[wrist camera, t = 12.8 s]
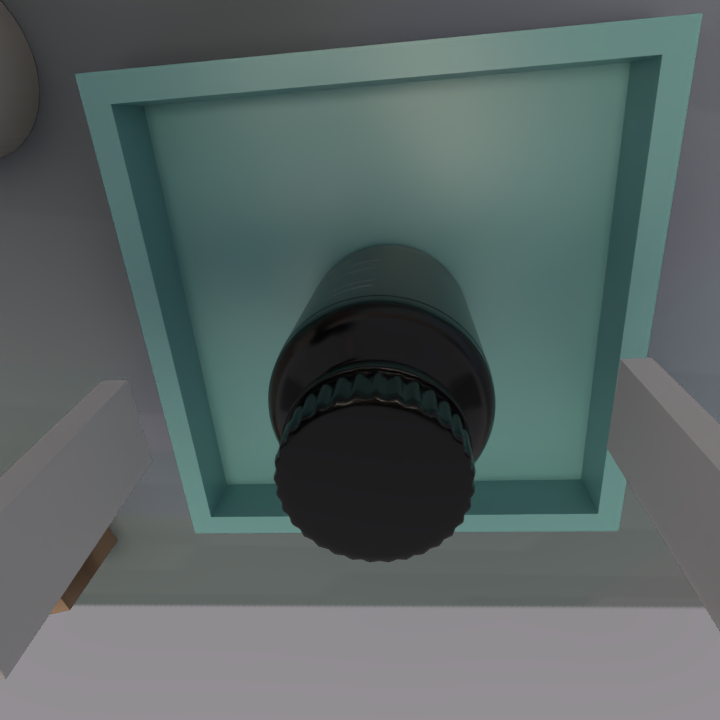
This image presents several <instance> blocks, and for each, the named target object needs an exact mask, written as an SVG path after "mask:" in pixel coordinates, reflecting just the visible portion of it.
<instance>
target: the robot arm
mask: <svg viewBox="0 0 720 720" xmlns="http://www.w3.org/2000/svg"><path fill="white" fill-rule="evenodd" d="M607 449H608V451H609V453H610V454H611V456H612V458H613V459H614V461H615V462H616V464H617V466H618V467H619V469H620V470H621V472H622V474H623V475H624V477H625V479H626V480H627V482H628V483H629V485H630V487H631V488H632V490H633V492H634V493H635V495H636V496H637V498H638V500H639V501H640V503H641V504H642V506H643V508H644V509H645V511H646V513H647V514H648V516H649V517H650V519H651V521H652V522H653V524H654V526H655V527H656V529H657V530H658V532H659V534H660V535H661V537H662V538H663V540H664V542H665V543H666V545H667V547H668V548H669V550H670V551H671V553H672V555H673V556H674V558H675V560H676V561H677V563H678V564H679V566H680V568H681V569H682V571H683V572H684V574H685V576H686V577H687V579H688V581H689V582H690V584H691V585H692V587H693V589H694V590H695V592H696V594H697V595H698V597H699V598H700V600H701V602H702V603H703V605H704V606H705V608H706V610H707V611H708V613H709V615H710V616H711V618H712V619H713V621H714V622H715V624H716V626H717V627H718V629H719V631H720V425H719V424H718V423H717V422H716V421H715V420H714V419H713V418H712V417H711V416H710V415H709V414H708V413H707V412H706V411H705V410H704V409H703V408H702V407H701V406H700V405H699V404H698V403H697V402H696V401H695V400H694V399H693V398H692V397H691V396H690V395H689V394H688V393H687V392H686V391H685V390H684V389H683V388H682V387H681V386H680V385H679V384H678V383H677V382H676V381H675V380H674V379H673V378H672V377H671V376H670V375H669V374H668V373H667V372H666V371H665V370H664V369H663V368H662V367H661V366H660V365H659V364H658V363H657V362H656V361H655V360H654V359H653V358H631V359H620V365H619V371H618V378H617V384H616V391H615V397H614V404H613V410H612V417H611V423H610V429H609V436H608V442H607ZM151 463H152V458H151V454H150V451H149V448H148V444H147V441H146V438H145V435H144V431H143V428H142V425H141V421H140V418H139V415H138V412H137V408H136V405H135V402H134V399H133V395H132V392H131V389H130V385H129V382H128V380H113V381H101V382H100V383H99V384H98V385H97V386H96V387H95V388H94V389H92V390H91V391H90V392H89V393H88V394H87V395H86V396H85V397H84V398H83V399H82V400H81V401H80V402H79V403H78V404H77V405H76V406H75V407H74V408H73V409H71V410H70V411H69V412H68V413H67V414H66V415H65V416H64V417H63V418H62V419H61V420H60V421H59V422H58V423H57V424H56V425H55V426H54V427H53V428H52V429H50V430H49V431H48V432H47V433H46V434H45V435H44V436H43V437H42V438H41V439H40V440H39V441H38V442H37V443H36V444H35V445H34V446H33V447H32V448H31V449H29V450H28V451H27V452H26V453H25V454H24V455H23V456H22V457H21V458H20V459H19V460H18V461H17V462H16V463H15V464H14V465H13V466H12V467H11V468H10V469H8V470H7V471H6V472H5V473H4V474H3V475H2V476H1V477H0V679H6V678H7V677H8V675H9V674H10V672H11V671H12V669H13V668H14V666H15V665H16V663H17V662H18V660H19V659H20V658H21V656H22V654H23V653H24V651H25V650H26V648H27V647H28V646H29V644H30V643H31V641H32V640H33V638H34V636H35V635H36V634H37V632H38V631H39V629H40V628H41V626H42V625H43V623H44V622H45V620H46V619H47V617H48V616H49V614H50V613H51V611H52V610H53V608H54V607H55V605H56V604H57V602H58V601H59V599H60V598H61V597H62V595H63V594H64V592H65V591H66V589H67V588H68V586H69V585H70V583H71V582H72V580H73V579H74V577H75V576H76V574H77V573H78V571H79V570H80V568H81V567H82V565H83V564H84V562H85V561H86V559H87V558H88V556H89V555H90V553H91V552H92V550H93V549H94V547H95V546H96V544H97V543H98V541H99V540H100V539H101V537H102V536H103V534H104V533H105V531H106V530H107V528H108V527H109V525H110V524H111V522H112V521H113V519H114V518H115V516H116V515H117V513H118V512H119V510H120V509H121V507H122V506H123V504H124V503H125V501H126V500H127V498H128V497H129V495H130V494H131V492H132V491H133V489H134V488H135V486H136V485H137V483H138V482H139V480H140V479H141V478H142V476H143V475H144V473H145V472H146V470H147V469H148V467H149V466H150V464H151Z"/></svg>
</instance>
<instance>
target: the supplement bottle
mask: <svg viewBox="0 0 720 720" xmlns="http://www.w3.org/2000/svg"><path fill="white" fill-rule="evenodd" d="M268 408H269V416H270V421H271V425H272V428H273V431H274V434H275V437H276V439H277V441H278V443H279V449H278V451H277V454H276V456H275V467H276V470H275V473H274V481H275V483H276V485H277V491H276V495H277V497H278V498H279V499H280V500H281V502H282V510H283V511H284V512H285V513H286V514H287V515H288V516H289V517H290V521H291V523H292V525H294V526H295V527H297V528H299V529H300V530H301V532H302V534H303V535H304V536H305V537H307V538H309V539H311V540H313V541H314V542H315V543H316V544H317V545H318V546H319V547H323V548H326V549H329V550H330V551H331V552H332V553H334V554H337V555H344V556H346V557H348V558H350V559H352V560H358V559H362V560H365V561H368V562H375V561H383V562H391V561H394V560H396V559H402V560H407V559H408V558H410V557H412V556H414V555H420V554H424V553H425V552H427V551H428V550H429V549H430V548H433V547H437V546H439V545H440V544H441V543H442V541H443V540H444V539H446V538H448V537H450V536H452V535H453V533H454V531H455V528H456V527H458V526H459V525H461V524H462V523H463V521H464V515H465V514H466V513H467V512H468V511H469V509H470V508H471V497H472V496H473V494H474V492H475V482H474V477H475V473H476V470H475V463H476V461H477V460H478V458H479V457H480V456H481V454H482V452H483V450H484V449H485V447H486V445H487V442H488V440H489V438H490V435H491V432H492V428H493V424H494V419H495V410H496V397H495V390H494V383H493V379H492V375H491V371H490V368H489V365H488V362H487V359H486V356H485V353H484V351H483V348H482V345H481V342H480V339H479V336H478V334H477V331H476V328H475V325H474V322H473V319H472V317H471V314H470V311H469V308H468V305H467V303H466V300H465V297H464V295H463V293H462V291H461V289H460V287H459V285H458V283H457V282H456V280H455V279H454V277H453V276H452V275H451V273H450V272H449V271H448V270H447V269H446V268H445V267H444V266H443V265H442V264H441V263H440V262H438V261H437V260H436V259H434V258H433V257H431V256H429V255H428V254H426V253H424V252H422V251H419V250H417V249H414V248H410V247H406V246H401V245H376V246H371V247H367V248H364V249H360V250H358V251H356V252H353V253H351V254H350V255H348V256H346V257H345V258H343V259H342V260H340V261H339V262H338V263H337V264H335V265H334V266H333V267H332V268H331V269H330V270H329V271H328V272H327V273H326V275H325V276H324V277H323V279H322V280H321V282H320V283H319V285H318V286H317V288H316V290H315V291H314V293H313V295H312V297H311V298H310V300H309V302H308V304H307V305H306V307H305V309H304V311H303V312H302V314H301V316H300V318H299V319H298V321H297V323H296V325H295V326H294V328H293V330H292V332H291V333H290V335H289V337H288V339H287V340H286V342H285V344H284V346H283V348H282V349H281V352H280V354H279V356H278V358H277V360H276V363H275V365H274V368H273V371H272V374H271V378H270V383H269V391H268Z"/></svg>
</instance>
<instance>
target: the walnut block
mask: <svg viewBox="0 0 720 720" xmlns="http://www.w3.org/2000/svg"><path fill="white" fill-rule="evenodd" d="M116 542H117V539H116V538H115V536H114V535H113V533H112V532H111V530H110V529H109V527H108V528H107V530H106V531H105V533H104V534H103V536H102V537H101V539H100V540H99V541H98V543H97V544H96V546H95V547H94V549H93V550H92V552H91V553H90V555H89V556H88V558H87V559H86V561H85V562H84V564H83V565H82V567H81V568H80V570H79V571H78V573H77V574H76V576H75V577H74V579H73V580H72V582H71V583H70V585H69V586H68V588H67V589H66V591H65V592H64V594H63V595H62V597H61V598H60V599H59V601H58V602H57V604H56V605H55V607H54V608H53V610H52V611H51V613H50V614H54V613H59V612H63V611H68V610H70V609H71V608H72V606H73V605H74V603H75V602H76V600H77V599H78V597H79V596H80V594H81V593H82V592H83V590H84V589H85V587H86V586H87V584H88V583H89V581H90V580H91V578H92V577H93V575H94V574H95V572H96V571H97V570H98V568H99V567H100V565H101V564H102V562H103V561H104V559H105V558H106V556H107V555H108V553H109V552H110V550H111V549H112V548H113V546H114V545H115V543H116Z"/></svg>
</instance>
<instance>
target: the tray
mask: <svg viewBox="0 0 720 720" xmlns="http://www.w3.org/2000/svg"><path fill="white" fill-rule="evenodd" d="M702 16H703V13H698V14H688V15H677V16H667V17H657V18H646V19H636V20H626V21H615V22H605V23H595V24H584V25H574V26H564V27H553V28H543V29H533V30H522V31H512V32H502V33H491V34H481V35H471V36H460V37H450V38H440V39H429V40H419V41H409V42H398V43H388V44H378V45H367V46H357V47H347V48H336V49H326V50H316V51H305V52H295V53H285V54H274V55H264V56H254V57H243V58H233V59H223V60H212V61H202V62H192V63H181V64H171V65H161V66H150V67H140V68H130V69H119V70H109V71H99V72H88V73H78V74H75V77H76V81H77V84H78V88H79V92H80V96H81V100H82V103H83V107H84V111H85V115H86V119H87V123H88V126H89V130H90V134H91V138H92V142H93V145H94V149H95V153H96V157H97V161H98V164H99V168H100V172H101V176H102V180H103V183H104V187H105V191H106V195H107V199H108V203H109V206H110V210H111V214H112V218H113V222H114V225H115V229H116V233H117V237H118V241H119V244H120V248H121V252H122V256H123V260H124V263H125V267H126V271H127V275H128V279H129V283H130V286H131V290H132V294H133V298H134V302H135V305H136V309H137V313H138V317H139V321H140V324H141V328H142V332H143V336H144V340H145V343H146V347H147V351H148V355H149V359H150V363H151V366H152V370H153V374H154V378H155V382H156V385H157V389H158V393H159V397H160V401H161V404H162V408H163V412H164V416H165V420H166V424H167V427H168V431H169V435H170V439H171V443H172V446H173V450H174V454H175V458H176V462H177V465H178V469H179V473H180V477H181V481H182V484H183V488H184V492H185V496H186V500H187V504H188V507H189V511H190V515H191V519H192V523H193V526H194V530H195V533H302V532H301V530H300V529H299V528H297V527H295V526H294V525H292V523H291V521H290V517H289V516H288V515H287V514H286V513H285V512H284V511H283V510H282V502H281V500H280V499H279V498H278V497H277V495H276V491H277V485H276V483H275V481H274V473H275V470H276V467H275V456H276V454H277V451H278V449H279V443H278V441H277V439H276V437H275V434H274V431H273V428H272V425H271V421H270V416H269V408H268V391H269V383H270V378H271V374H272V371H273V368H274V365H275V363H276V360H277V358H278V356H279V354H280V352H281V349H282V348H283V346H284V344H285V342H286V340H287V339H288V337H289V335H290V333H291V332H292V330H293V328H294V326H295V325H296V323H297V321H298V319H299V318H300V316H301V314H302V312H303V311H304V309H305V307H306V305H307V304H308V302H309V300H310V298H311V297H312V295H313V293H314V291H315V290H316V288H317V286H318V285H319V283H320V282H321V280H322V279H323V277H324V276H325V275H326V273H327V272H328V271H329V270H330V269H331V268H332V267H333V266H334V265H335V264H337V263H338V262H339V261H340V260H342V259H343V258H345V257H346V256H348V255H350V254H351V253H353V252H356V251H358V250H360V249H364V248H367V247H371V246H376V245H401V246H406V247H410V248H414V249H417V250H419V251H422V252H424V253H426V254H428V255H429V256H431V257H433V258H434V259H436V260H437V261H438V262H440V263H441V264H442V265H443V266H444V267H445V268H446V269H447V270H448V271H449V272H450V273H451V275H452V276H453V277H454V279H455V280H456V282H457V283H458V285H459V287H460V289H461V291H462V293H463V295H464V297H465V300H466V303H467V305H468V308H469V311H470V314H471V317H472V319H473V322H474V325H475V328H476V331H477V334H478V336H479V339H480V342H481V345H482V348H483V351H484V353H485V356H486V359H487V362H488V365H489V368H490V371H491V375H492V379H493V383H494V390H495V397H496V410H495V419H494V424H493V428H492V432H491V435H490V438H489V440H488V442H487V445H486V447H485V449H484V450H483V452H482V454H481V456H480V457H479V458H478V460H477V461H476V463H475V470H476V473H475V477H474V482H475V492H474V494H473V496H472V497H471V508H470V509H469V511H468V512H467V513H466V514H465V515H464V521H463V523H462V524H461V525H459V526H458V527H456V528H455V531H454V532H520V531H619V524H620V518H621V512H622V506H623V500H624V494H625V488H626V482H627V480H626V479H625V477H624V475H623V474H622V472H621V470H620V469H619V467H618V466H617V464H616V462H615V461H614V459H613V458H612V456H611V454H610V453H609V451H608V449H607V442H608V436H609V429H610V423H611V417H612V410H613V404H614V397H615V391H616V384H617V378H618V371H619V365H620V359H631V358H647V353H648V347H649V340H650V334H651V328H652V322H653V316H654V310H655V304H656V298H657V291H658V285H659V279H660V273H661V267H662V261H663V255H664V249H665V242H666V236H667V230H668V224H669V218H670V212H671V206H672V199H673V193H674V187H675V181H676V175H677V169H678V163H679V157H680V150H681V144H682V138H683V132H684V126H685V120H686V114H687V108H688V101H689V95H690V89H691V83H692V77H693V71H694V65H695V58H696V52H697V46H698V40H699V34H700V28H701V22H702Z"/></svg>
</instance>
